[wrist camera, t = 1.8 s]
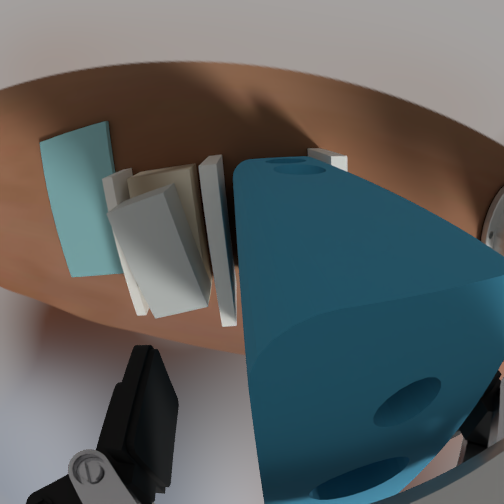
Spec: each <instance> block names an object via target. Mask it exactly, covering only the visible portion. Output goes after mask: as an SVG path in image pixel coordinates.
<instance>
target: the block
mask: <svg viewBox="0 0 504 504" xmlns="http://www.w3.org/2000/svg"><path fill="white" fill-rule="evenodd" d="M233 188H234V204H235V219H236V234H237V248H238V262H239V276H240V289H241V303H242V315H243V328H244V340H245V353H246V364H247V376H248V387H249V395H250V403H251V411H252V419H253V426H254V434H255V441H256V448H257V455H258V462H259V470H260V477H261V483H262V490H263V497H264V504H370V503H373V502H376V501H379V500H382V499H385V498H388V497H391V496H393V495H396V494H398V493H399V492H400V491H401V490H402V489H403V488H404V487H405V486H406V485H407V484H409V483H410V482H411V481H412V480H413V479H414V478H415V477H416V476H417V475H418V474H419V473H420V472H421V471H422V470H423V468H425V467H426V466H427V465H428V464H429V462H430V461H431V460H432V459H433V458H434V457H435V456H436V455H437V454H438V453H439V451H440V450H441V449H442V448H443V447H444V446H445V444H446V443H447V442H448V441H449V440H450V439H451V437H452V436H453V435H454V434H455V432H456V431H457V430H458V429H459V427H460V426H461V425H462V423H463V422H464V421H465V419H466V418H467V417H468V415H469V414H470V413H471V411H472V410H473V408H474V407H475V406H476V404H477V403H478V401H479V400H480V398H481V397H482V395H483V394H484V392H485V390H486V389H487V387H488V386H489V384H490V383H491V381H492V379H493V378H494V376H495V374H496V372H497V371H498V369H499V367H500V365H501V364H502V362H503V360H504V256H502V255H501V254H499V253H498V252H496V251H495V250H493V249H492V248H490V247H489V246H487V245H486V244H484V243H483V242H481V241H479V240H478V239H476V238H475V237H473V236H471V235H470V234H468V233H466V232H465V231H463V230H461V229H460V228H458V227H456V226H455V225H453V224H451V223H449V222H448V221H446V220H444V219H442V218H441V217H439V216H437V215H435V214H433V213H431V212H430V211H428V210H426V209H424V208H422V207H420V206H418V205H416V204H414V203H413V202H411V201H409V200H407V199H405V198H403V197H401V196H399V195H397V194H395V193H393V192H390V191H388V190H386V189H384V188H382V187H380V186H378V185H376V184H374V183H371V182H369V181H367V180H365V179H362V178H360V177H358V176H356V175H353V174H351V173H349V172H346V171H344V170H342V169H339V168H337V167H335V166H332V165H330V164H327V163H325V162H322V161H320V160H317V159H315V158H312V157H308V156H297V157H275V158H259V159H248V160H245V161H243V162H241V163H240V164H239V165H237V167H236V168H235V170H234V173H233Z"/></svg>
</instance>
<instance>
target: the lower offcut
mask: <svg viewBox="0 0 504 504" xmlns="http://www.w3.org/2000/svg"><path fill="white" fill-rule="evenodd" d="M127 183H128V189H129V195H130V199H131V198H133V197H136V196H138V195H141V194H144V193H147V192H149V191H152V190H155V189H158V188H160V187H163V186H166V185H169V184H172V183H174V184H175V187H176V190H177V193H178V196H179V198H180V201H181V204H182V207H183V210H184V213H185V215H186V218H187V221H188V224H189V226H190V229H191V232H192V235H193V237H194V240H195V243H196V245H197V248H198V251H199V253H200V256H201V259H202V261H203V264H204V266H205V269H206V272H207V274H208V277H209V279H210V282H211V286H212V274H211V267H210V261H209V255H208V248H207V242H206V235H205V228H204V221H203V214H202V207H201V199H200V192H199V184H198V176H197V168H196V163H195V164H187V165H180V166H173V167H167V168H160V169H154V170H148V171H142V172H139V173H137V174H135V175H133V176H131V177H130V178H128V179H127ZM210 293H211V290H210ZM209 299H210V296H209Z"/></svg>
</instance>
